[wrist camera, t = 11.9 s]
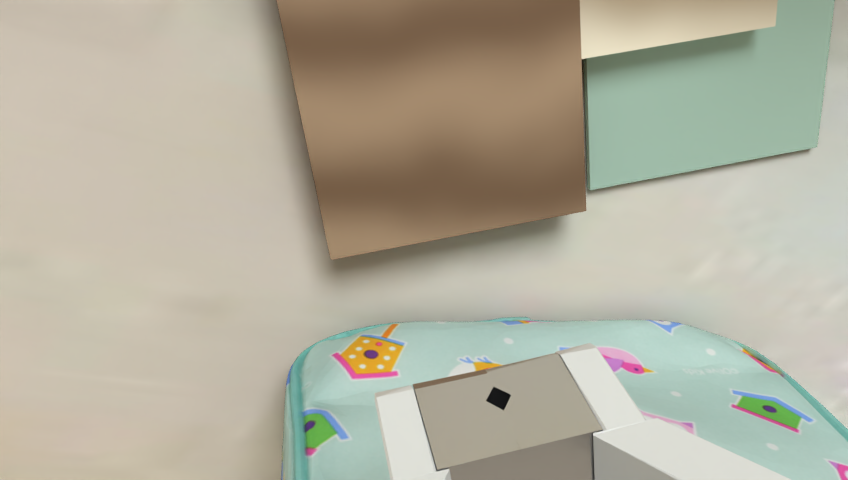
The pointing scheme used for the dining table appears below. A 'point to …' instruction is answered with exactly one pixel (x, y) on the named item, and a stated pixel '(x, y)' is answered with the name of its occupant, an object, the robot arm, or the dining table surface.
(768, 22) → the birch tile
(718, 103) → the sage mat
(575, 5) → the walnut deck
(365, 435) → the lunch box
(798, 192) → the dining table surface
